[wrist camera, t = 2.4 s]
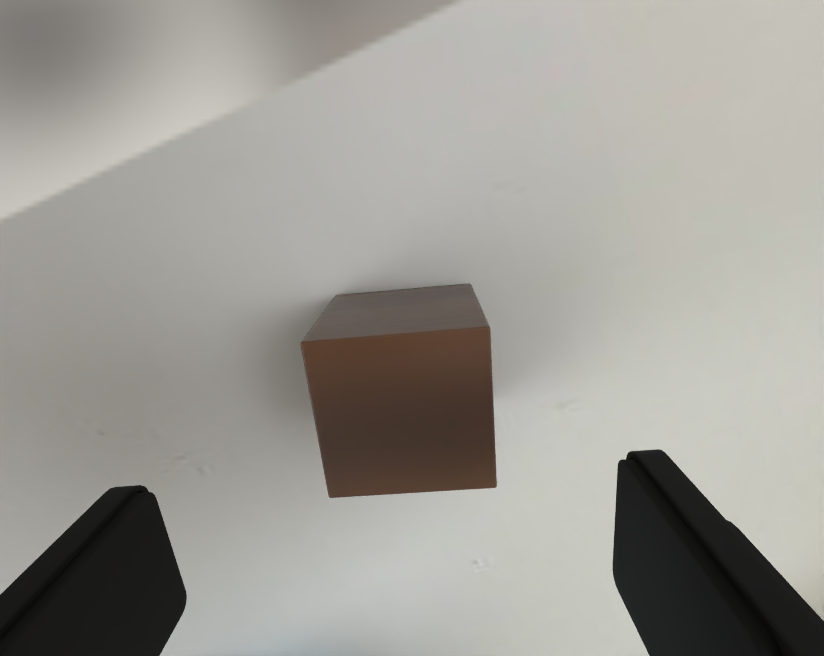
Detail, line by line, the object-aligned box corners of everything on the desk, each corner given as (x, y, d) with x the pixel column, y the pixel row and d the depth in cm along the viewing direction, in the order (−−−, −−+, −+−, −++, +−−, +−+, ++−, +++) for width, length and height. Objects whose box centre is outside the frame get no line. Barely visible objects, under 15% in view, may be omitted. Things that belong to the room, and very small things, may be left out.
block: (335, 294, 17) (299, 342, 12) (471, 283, 16) (490, 326, 12) (353, 414, 18) (328, 499, 13) (477, 405, 18) (497, 488, 13)
